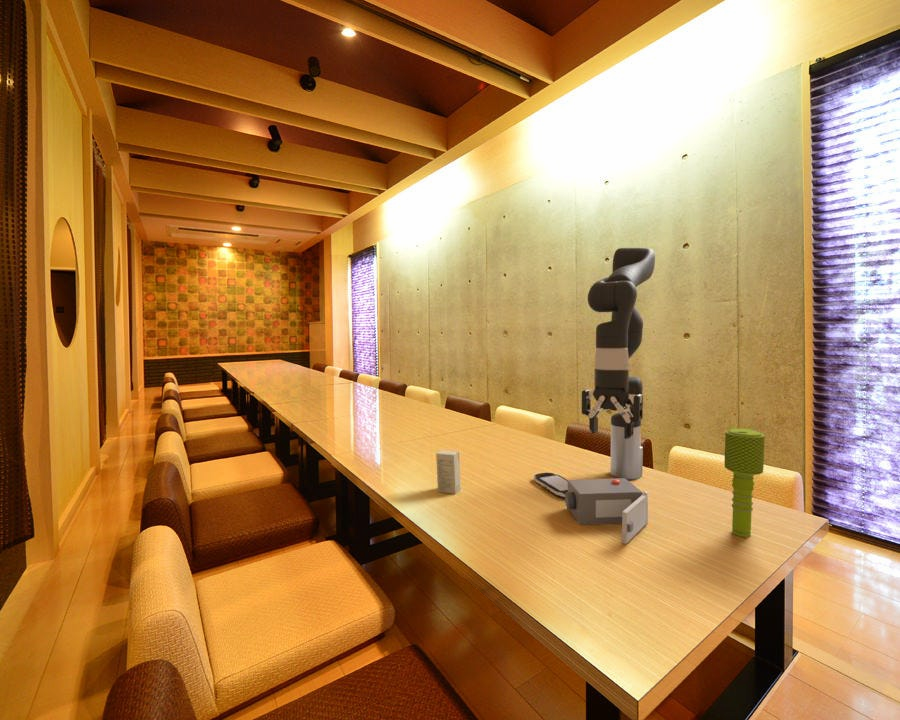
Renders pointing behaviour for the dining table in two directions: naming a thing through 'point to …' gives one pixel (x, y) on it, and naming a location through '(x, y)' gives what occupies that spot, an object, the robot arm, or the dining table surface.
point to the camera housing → (600, 499)
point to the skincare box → (448, 471)
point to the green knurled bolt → (743, 473)
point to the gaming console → (552, 483)
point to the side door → (635, 517)
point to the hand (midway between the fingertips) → (610, 435)
